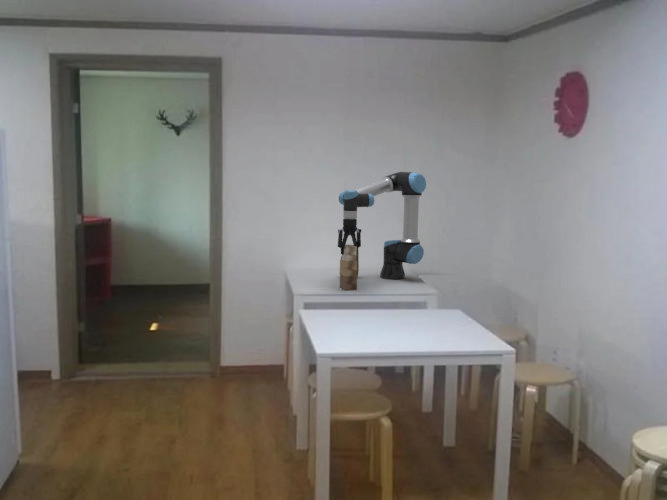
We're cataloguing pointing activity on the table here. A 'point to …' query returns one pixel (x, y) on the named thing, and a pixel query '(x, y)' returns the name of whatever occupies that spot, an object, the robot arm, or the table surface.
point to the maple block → (350, 253)
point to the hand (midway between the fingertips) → (348, 259)
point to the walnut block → (348, 282)
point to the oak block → (348, 268)
